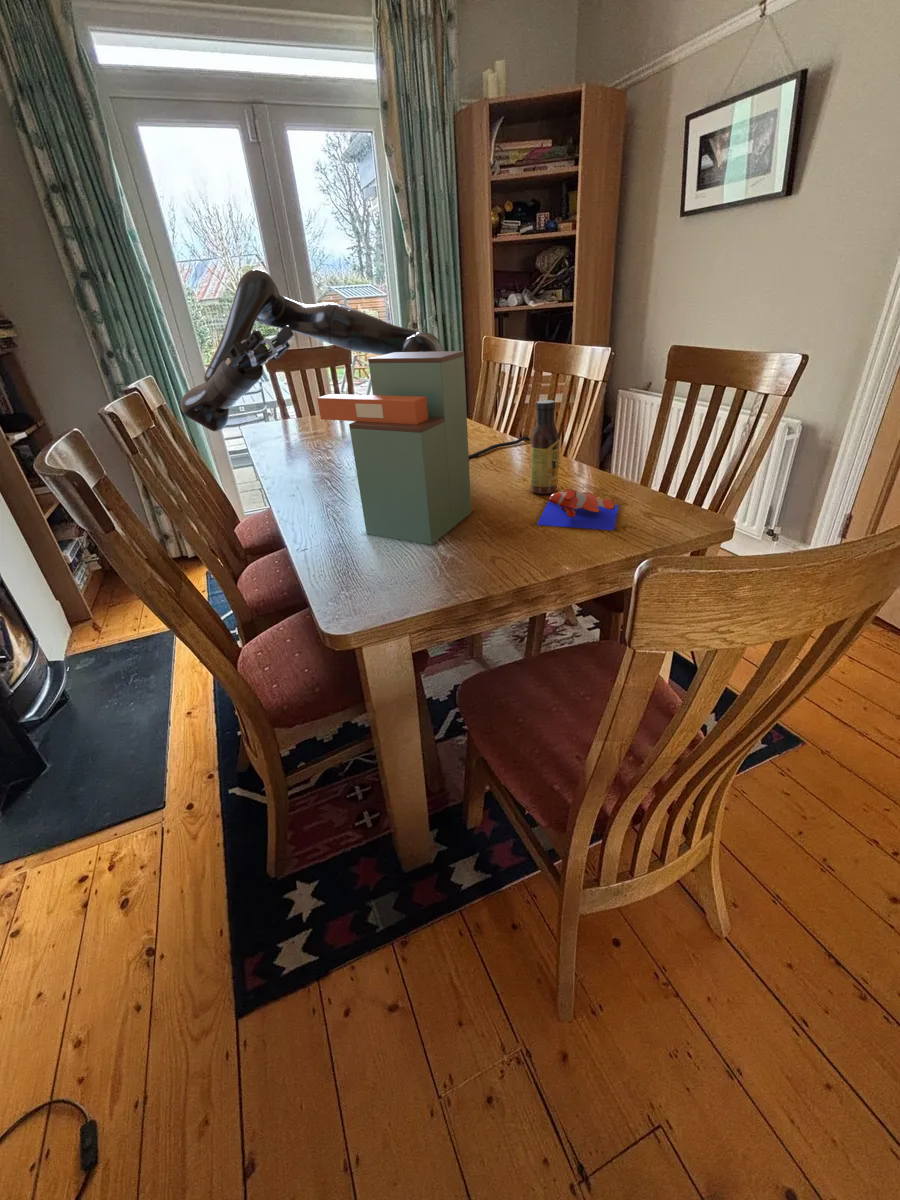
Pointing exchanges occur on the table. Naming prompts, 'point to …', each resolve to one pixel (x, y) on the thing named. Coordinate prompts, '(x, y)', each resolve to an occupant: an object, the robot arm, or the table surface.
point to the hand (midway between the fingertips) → (275, 331)
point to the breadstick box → (374, 408)
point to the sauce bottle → (544, 450)
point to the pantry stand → (415, 450)
